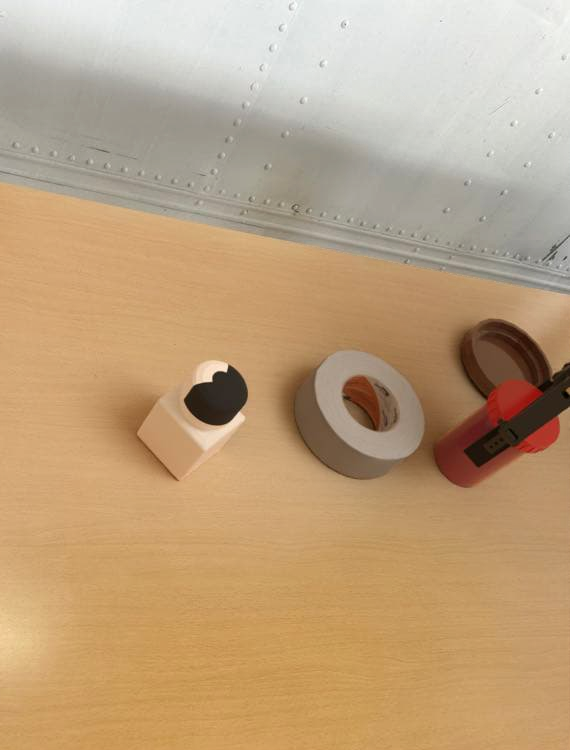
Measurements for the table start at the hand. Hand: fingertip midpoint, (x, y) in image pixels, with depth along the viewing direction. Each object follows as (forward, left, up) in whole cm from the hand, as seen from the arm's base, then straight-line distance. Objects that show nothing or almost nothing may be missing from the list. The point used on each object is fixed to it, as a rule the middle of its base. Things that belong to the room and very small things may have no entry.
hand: (493, 436), depth 96 cm
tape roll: (+16, +5, -7) cm, 18 cm away
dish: (-3, -20, -6) cm, 21 cm away
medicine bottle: (+34, +21, -7) cm, 40 cm away
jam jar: (0, 0, -6) cm, 6 cm away
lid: (0, 0, +5) cm, 5 cm away
